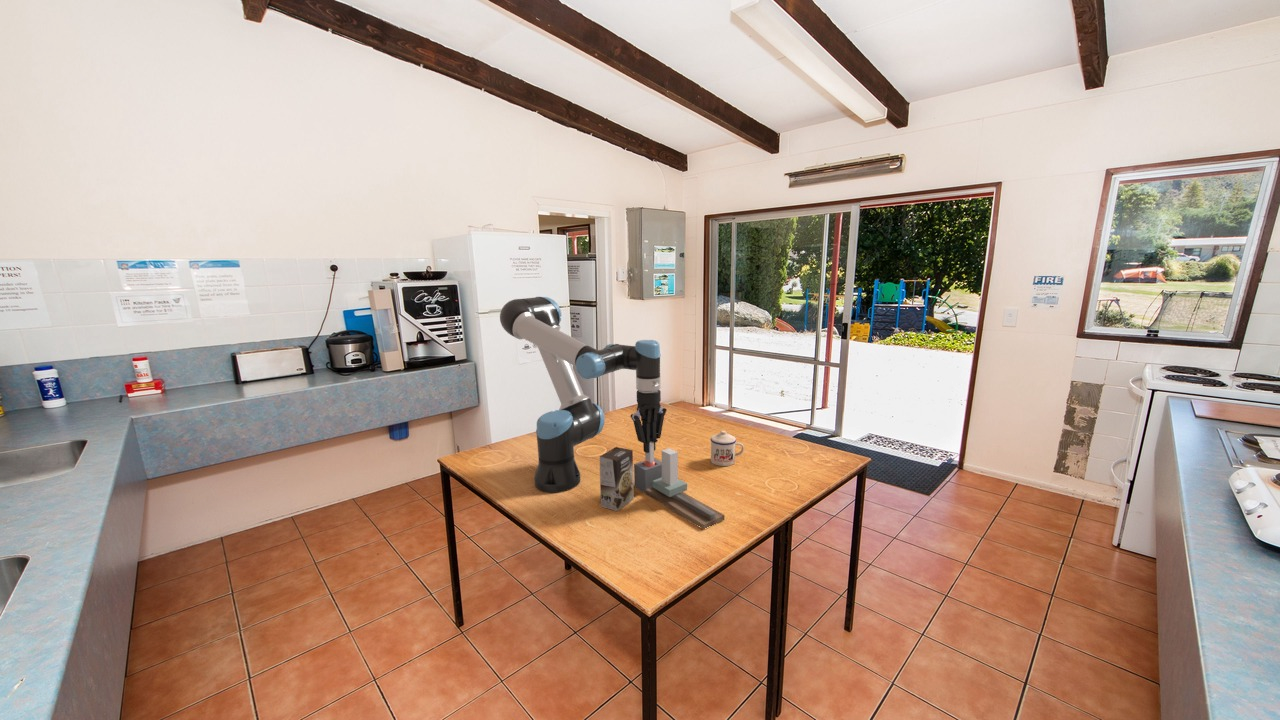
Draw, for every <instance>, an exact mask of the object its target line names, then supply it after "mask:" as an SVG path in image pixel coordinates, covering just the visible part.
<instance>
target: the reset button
mask: <svg viewBox="0 0 1280 720" xmlns="http://www.w3.org/2000/svg"><path fill="white" fill-rule="evenodd" d="M643 461H644V465H645V466H647V467H648V468H649V467H652V466H654V465H655V461H654V462H652V463H650V462H648V461H646V460H645V459H644V460H643Z"/></svg>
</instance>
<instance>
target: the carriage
mask: <svg viewBox="0 0 1280 720" xmlns="http://www.w3.org/2000/svg"><path fill="white" fill-rule="evenodd" d="M661 462H662V478H659V479H656V480H653V488H655V489H657V490H658V491H660V492H662V493H663V494H665V495H667V496H668V497H671V496H674V495H676V494H679V493H681V492H684V493H685V492H687V491H688V483H687V482H685V481H683V480H682V479H679V466H678V465H679V453H678V451H676V450H674V449H672V448H670V447H669V448H665V449H662V450H661Z"/></svg>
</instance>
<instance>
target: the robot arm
mask: <svg viewBox="0 0 1280 720" xmlns="http://www.w3.org/2000/svg"><path fill="white" fill-rule="evenodd" d="M561 317H562V312H561V308H560V306H559V305H558V302H556V301H555V300H554V299H552V298H550V297H547V296H536V297H527V298H514V299H512V300H509V301H508V302H506V303H505V304H504V305H503V307H502V308H501V310H500V314H499V321H500V324H501V327H502V328H503V330H504V331H505V332H507V334H509V335H510V336H511V337H514V338H515V339H518V340H526V341H527V342H530V344H533V345H535V346H537V348H538V351H539V354H540V356H541V358H542V360H543V361H542V362H543V363H544V365H545V368H546V371H547V373H548V376H549V377H550V380H551V383H552V385H553V388H554V390H555V393H556V395H557V398H558V401H559V402H560V407H559V409H557V410H556V409H555V410H554V411H553V410H550V411H547V412H545V413H543V414H542V415H540V416H539V417H538V418H537V421H536V430H535V433H536V440H537V453H538V454H537V457H538V464H537V467H536V470H535V474H534V486H535V488H536V489H537V490H539V491H542V492H545V493H561V492H566V491H569V490H572V489H574V488H575V487H577V486H579V484H580V483H581V472H580V470H579V467H578V465H577V463H576V460H575V451H574V450H575V448H574V447H575V446H578V445H579V444H582V443H584V442H586V441H588V440H590V439H593V438H595V437H596V436H597V435H599V434H600V433H601V432H602V431H603V429H604V426H605V421H606V417H605V414H604V410H603V409H602V407H601V406H600V405H598V404H597V403H594V402H592V400H591V398H590V396H588V395H586V394H584V392H583V389H582V386H581V384H580V382H579V380H578V377H577V375H576V372H577V373H578V375H579V376H580V377H581V378H582V379H586V380H590V379H591V380H592V379H597V378H599V377H602V376H604V375H608V374H610V373H613V372H617V371H619V370H631V371H632V370H633V371H635V385H636V386H635V388H636V403H637V407H636V411H635V413H634V414H633V413H631V414H630V416H629V417H630V418H631V420H632V421H633V422H632V423H633V424H634V425H633V426H634V430H635V434H636V439H637V441H638V442H641V443H642V444H643V453H644V456H645V458H644V461H645V460H646V461H648V462H650V463H652V462H654V458H655V451H656V443H658V441H659V440H658V439H660V438H661V437H662V431H663V426H664V419H665V415H666V413H667V408H665V407H663V406H661V394H662V392H661V349H660V348H661V347H660V343H659V342H658V341H657V340H654V339H641V340H637V341H636V342H635V344H634V345H627V344H626V345H625V344H619V343H611V344H609V343H608V344H606V345H605V347H604V348H602V349H596V348H594V347H592V346H590V345H588V344H586V343H584V342H582V341H580V340H578V339H577V338H574V337H572V336H570V335H569V334H567V333H564V332H563V331H560V330H561V325H560V323H561V322H562V318H561ZM573 367H575V368H576V372H575V369H574V368H573Z"/></svg>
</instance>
